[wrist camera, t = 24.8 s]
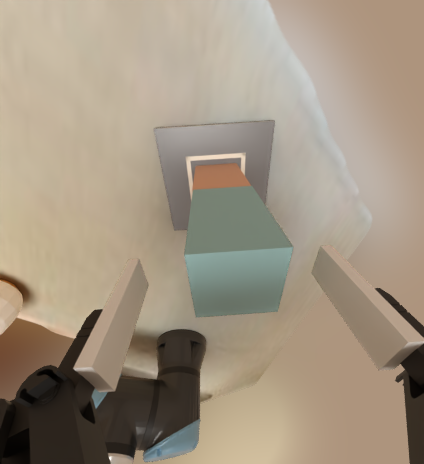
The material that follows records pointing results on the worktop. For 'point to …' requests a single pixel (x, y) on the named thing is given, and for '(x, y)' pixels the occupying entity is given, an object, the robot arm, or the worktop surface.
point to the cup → (9, 304)
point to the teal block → (234, 253)
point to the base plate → (211, 158)
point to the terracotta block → (218, 176)
